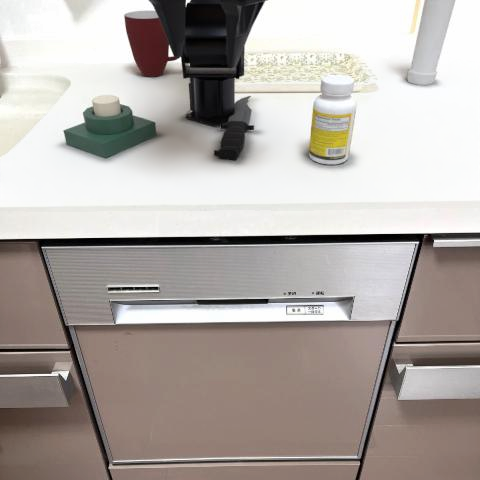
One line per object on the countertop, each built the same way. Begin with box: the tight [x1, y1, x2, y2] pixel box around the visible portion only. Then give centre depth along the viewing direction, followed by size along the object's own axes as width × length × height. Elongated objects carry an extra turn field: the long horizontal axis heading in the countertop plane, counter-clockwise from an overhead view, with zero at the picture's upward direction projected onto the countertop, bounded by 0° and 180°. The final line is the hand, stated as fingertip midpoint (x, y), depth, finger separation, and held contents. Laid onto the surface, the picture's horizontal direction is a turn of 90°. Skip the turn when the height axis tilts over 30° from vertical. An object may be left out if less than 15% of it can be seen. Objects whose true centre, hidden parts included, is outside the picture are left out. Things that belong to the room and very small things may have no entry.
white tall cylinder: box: [406, 0, 456, 86], centre depth 82 cm, size 5×5×25 cm
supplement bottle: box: [308, 74, 357, 165], centre depth 61 cm, size 5×5×10 cm
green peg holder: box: [63, 103, 158, 159], centre depth 67 cm, size 8×10×4 cm
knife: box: [213, 95, 255, 162], centre depth 72 cm, size 25×2×5 cm
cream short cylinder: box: [91, 94, 121, 117], centre depth 65 cm, size 4×4×2 cm
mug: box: [123, 10, 181, 78], centre depth 89 cm, size 11×8×10 cm
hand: (204, 62), depth 54 cm, fingers open, 8 cm apart
